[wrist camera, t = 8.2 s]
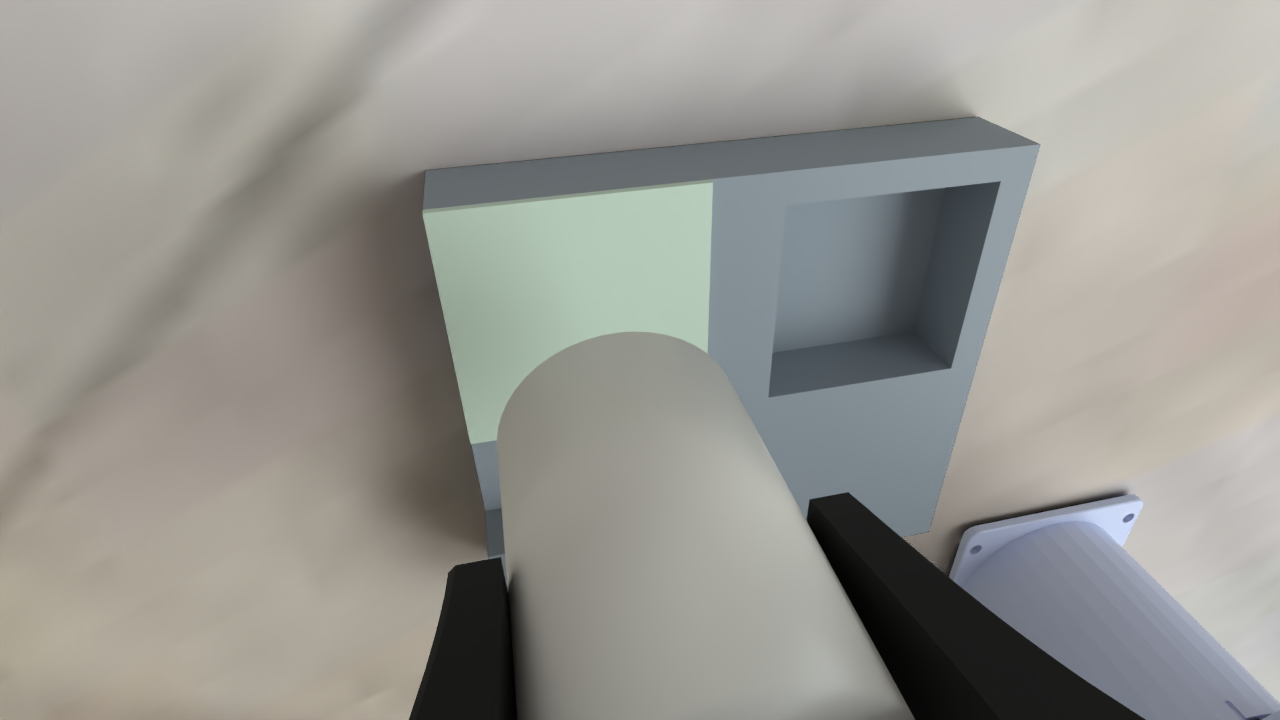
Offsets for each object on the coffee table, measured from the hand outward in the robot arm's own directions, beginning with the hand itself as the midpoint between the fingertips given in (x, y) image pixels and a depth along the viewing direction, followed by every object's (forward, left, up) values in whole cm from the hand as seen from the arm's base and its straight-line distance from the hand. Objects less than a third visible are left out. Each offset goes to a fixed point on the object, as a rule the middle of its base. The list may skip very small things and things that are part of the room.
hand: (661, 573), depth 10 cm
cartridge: (0, 0, -3) cm, 3 cm away
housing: (-4, -4, -10) cm, 11 cm away
